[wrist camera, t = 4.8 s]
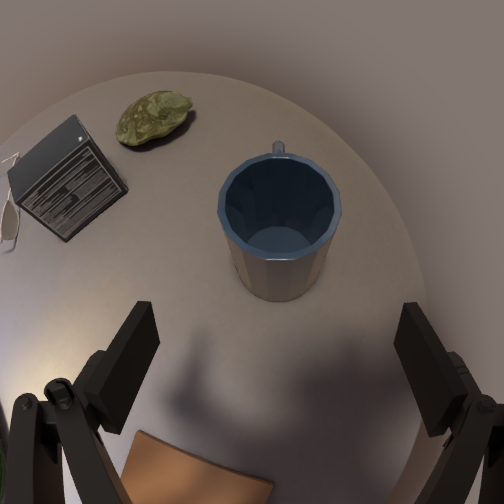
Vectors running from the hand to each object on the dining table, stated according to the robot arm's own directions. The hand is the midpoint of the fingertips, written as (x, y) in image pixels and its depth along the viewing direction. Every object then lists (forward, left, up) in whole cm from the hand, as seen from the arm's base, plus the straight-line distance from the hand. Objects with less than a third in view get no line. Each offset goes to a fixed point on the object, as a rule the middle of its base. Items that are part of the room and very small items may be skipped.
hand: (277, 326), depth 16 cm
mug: (+3, -10, -14) cm, 17 cm away
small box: (+28, -8, -15) cm, 32 cm away
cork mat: (+3, +20, -14) cm, 25 cm away
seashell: (+25, -22, -15) cm, 36 cm away
